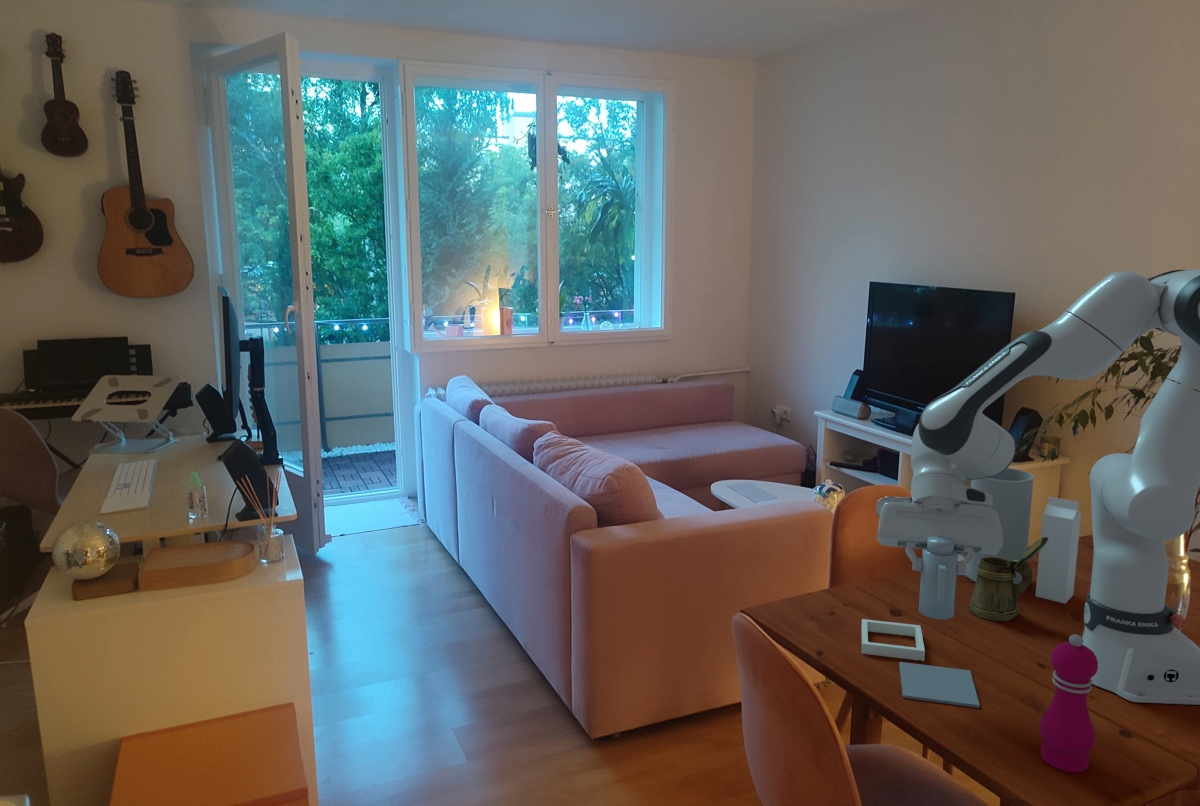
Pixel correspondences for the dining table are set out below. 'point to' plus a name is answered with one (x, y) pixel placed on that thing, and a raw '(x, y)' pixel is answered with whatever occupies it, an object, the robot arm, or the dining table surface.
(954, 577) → the blue capped bottle
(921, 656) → the holder
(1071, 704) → the pepper mill
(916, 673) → the mat
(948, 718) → the dining table surface
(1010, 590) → the wooden mug
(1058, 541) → the milk
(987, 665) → the dining table surface
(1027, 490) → the cylinder vase
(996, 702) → the dining table surface
